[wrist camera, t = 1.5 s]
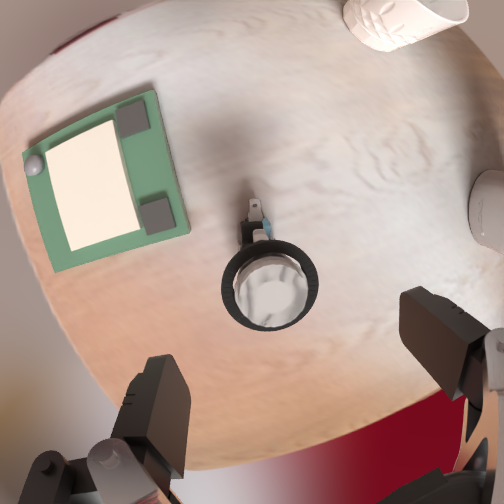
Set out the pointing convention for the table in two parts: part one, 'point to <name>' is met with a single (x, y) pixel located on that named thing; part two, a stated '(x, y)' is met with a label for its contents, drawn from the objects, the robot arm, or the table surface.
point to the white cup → (401, 20)
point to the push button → (267, 278)
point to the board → (106, 184)
